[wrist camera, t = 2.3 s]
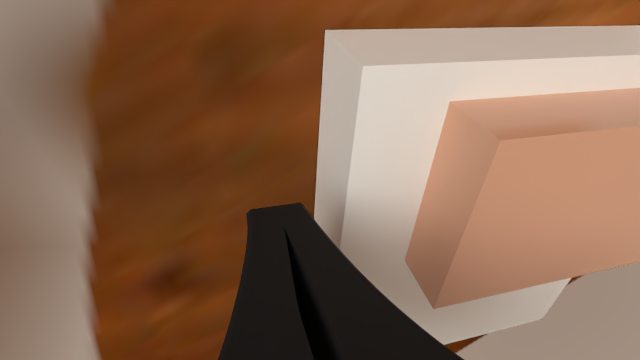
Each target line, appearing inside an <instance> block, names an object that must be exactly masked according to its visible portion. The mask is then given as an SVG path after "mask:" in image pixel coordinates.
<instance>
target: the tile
mask: <svg viewBox="0 0 640 360" xmlns="http://www.w3.org/2000/svg"><path fill="white" fill-rule="evenodd" d="M405 262H406V264H407V265H408V267H409V269H410V271H411V272H412V274H413V276H414V277H415V279H416V281H417V282H418V284H419V286H420V287H421V289H422V291H423V293H424V294H425V296H426V298H427V299H428V301H429V303H430V304H431V306H432V308H433V309H436V308H441V307H445V306H449V305H454V304H458V303H463V302H467V301H471V300H476V299H480V298H484V297H489V296H493V295H498V294H502V293H506V292H511V291H515V290H519V289H524V288H528V287H533V286H537V285H541V284H546V283H550V282H554V281H559V280H563V279H568V278H572V277H576V276H581V275H585V274H589V273H593V272H598V271H602V270H607V269H611V268H615V267H620V266H624V265H628V264H633V263H637V262H640V88H629V89H615V90H601V91H587V92H573V93H559V94H545V95H531V96H517V97H503V98H489V99H475V100H460V101H450V102H449V106H448V109H447V113H446V116H445V120H444V123H443V127H442V130H441V134H440V138H439V141H438V145H437V148H436V152H435V155H434V159H433V162H432V166H431V169H430V173H429V176H428V180H427V183H426V187H425V190H424V194H423V197H422V201H421V204H420V208H419V212H418V215H417V219H416V222H415V226H414V229H413V233H412V236H411V240H410V243H409V247H408V250H407V254H406V257H405Z"/></svg>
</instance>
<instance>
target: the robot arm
mask: <svg viewBox="0 0 640 360" xmlns="http://www.w3.org/2000/svg"><path fill="white" fill-rule="evenodd" d="M247 225H248V234H247V245H246V253H245V259H244V264H243V270H242V275H241V281H240V285H239V289H238V293H237V297H236V301H235V305H234V309H233V312H232V316H231V320H230V324H229V327H228V330H227V334H226V337H225V340H224V343H223V346H222V349H221V352H220V355H219V358H218V360H464V359H462V358H461V357H459V356H458V355H457V354H455V353H454V352H452V351H451V350H450V349H448V348H447V347H446V346H444V345H443V344H442V343H440V342H439V341H438V340H437V339H435V338H434V337H433V336H432V335H430V334H429V333H428V332H427V331H425V330H424V329H423V328H421V327H420V326H419V325H418V324H417V323H415V322H414V321H413V320H412V319H411V318H410V317H408V316H407V315H406V314H405V313H404V312H402V311H401V310H400V309H399V308H398V307H397V306H396V305H394V304H393V303H392V302H391V301H390V300H389V299H388V298H387V297H386V296H385V295H384V294H382V293H381V292H380V291H379V290H378V289H377V288H376V287H375V286H374V285H373V284H372V283H371V282H370V281H369V280H368V279H367V278H366V277H365V276H364V275H363V274H362V273H361V272H360V271H359V270H358V269H357V268H356V267H355V266H354V265H353V264H352V262H351V261H350V260H349V259H348V258H347V257H346V256H345V255H344V254H343V253H342V252H341V251H340V249H339V248H338V247H337V246H336V245H335V244H334V243H333V242H332V240H331V239H330V238H329V237H328V236H327V234H326V233H325V232H324V231H323V230H322V228H321V227H320V226H319V225H318V223H317V222H316V221H315V220H314V218H313V217H312V216H311V214H310V213H309V212H308V210H307V209H306V208H305V206H304V205H302V204H301V203H295V204H288V205H281V206H273V207H266V208H258V209H251V210H250V211H249V212H248V213H247Z"/></svg>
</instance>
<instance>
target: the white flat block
mask: <svg viewBox="0 0 640 360" xmlns="http://www.w3.org/2000/svg"><path fill="white" fill-rule="evenodd" d="M629 88H640V25H636V26H568V27H500V28H432V29H364V30H325V42H324V59H323V76H322V92H321V109H320V125H319V142H318V159H317V175H316V192H315V208H314V220H315V221H316V222H317V223H318V225H319V226H320V227H321V228H322V230H323V231H324V232H325V233H326V234H327V236H328V237H329V238H330V239H331V240H332V242H333V243H334V244H335V245H336V246H337V247H338V248H339V249H340V251H341V252H342V253H343V254H344V255H345V256H346V257H347V258H348V259H349V260H350V261H351V262H352V264H353V265H354V266H355V267H356V268H357V269H358V270H359V271H360V272H361V273H362V274H363V275H364V276H365V277H366V278H367V279H368V280H369V281H370V282H371V283H372V284H373V285H374V286H375V287H376V288H377V289H378V290H379V291H380V292H381V293H382V294H384V295H385V296H386V297H387V298H388V299H389V300H390V301H391V302H392V303H393V304H394V305H396V306H397V307H398V308H399V309H400V310H401V311H402V312H404V313H405V314H406V315H407V316H408V317H410V318H411V319H412V320H413V321H414V322H415V323H417V324H418V325H419V326H420V327H421V328H423V329H424V330H425V331H427V332H428V333H429V334H430V335H432V336H433V337H434V338H435V339H437V340H438V341H439V342H440V343H442V344H443V345H445V344H449V343H452V342H456V341H460V340H464V339H468V338H472V337H476V336H480V335H483V334H487V333H491V332H495V331H499V330H503V329H507V328H510V327H514V326H518V325H522V324H526V323H530V322H534V321H538V320H541V319H543V317H544V316H545V314H546V313H547V311H548V310H549V309H550V307H551V306H552V304H553V303H554V301H555V300H556V299H557V298H558V296H559V295H560V293H561V292H562V291H563V289H564V288H565V286H566V285H567V284H568V282H569V281H570V279H571V278H568V279H563V280H559V281H554V282H550V283H546V284H541V285H537V286H533V287H528V288H524V289H519V290H515V291H511V292H506V293H502V294H498V295H493V296H489V297H484V298H480V299H476V300H471V301H467V302H463V303H458V304H454V305H449V306H445V307H441V308H436V309H433V308H432V306H431V304H430V303H429V301H428V299H427V298H426V296H425V294H424V293H423V291H422V289H421V287H420V286H419V284H418V282H417V281H416V279H415V277H414V276H413V274H412V272H411V271H410V269H409V267H408V265H407V264H406V262H405V257H406V254H407V250H408V247H409V243H410V240H411V236H412V233H413V229H414V226H415V222H416V219H417V215H418V212H419V208H420V204H421V201H422V197H423V194H424V190H425V187H426V183H427V180H428V176H429V173H430V169H431V166H432V162H433V159H434V155H435V152H436V148H437V145H438V141H439V138H440V134H441V130H442V127H443V123H444V120H445V116H446V113H447V109H448V106H449V102H450V101H460V100H475V99H489V98H503V97H517V96H531V95H545V94H559V93H573V92H587V91H601V90H615V89H629Z"/></svg>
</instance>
